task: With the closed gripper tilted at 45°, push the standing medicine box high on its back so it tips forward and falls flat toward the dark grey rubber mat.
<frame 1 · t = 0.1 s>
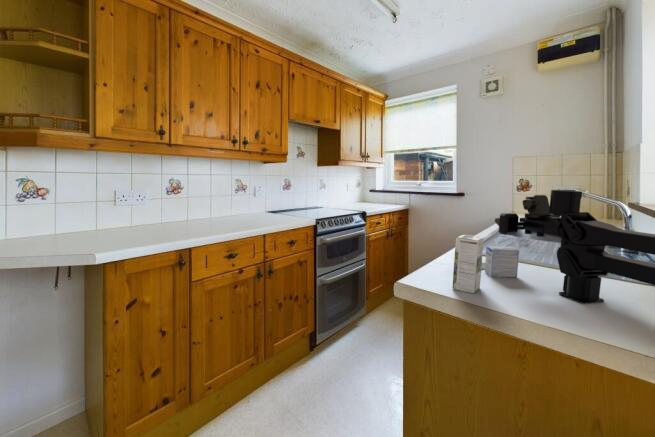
hand: (507, 219, 99), 16 cm above the countertop, tool horizontal, fingers open, 9 cm apart
medicine box: (500, 275, 95), on the countertop
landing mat: (477, 266, 103), on the countertop
syrup box: (466, 289, 83), on the countertop
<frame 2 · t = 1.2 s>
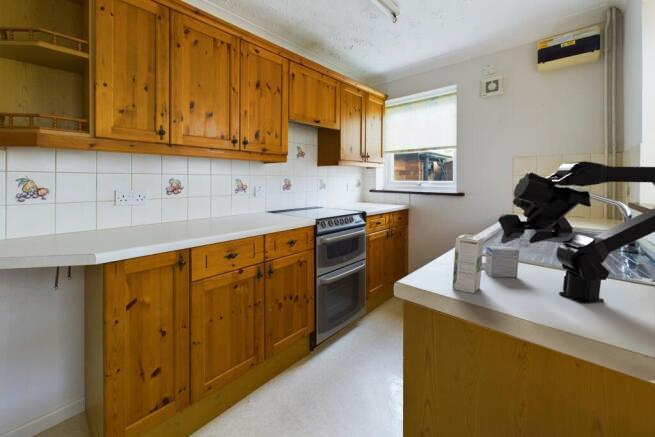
hand: (516, 242, 88), 11 cm above the countertop, tool tilted 45°, fingers open, 9 cm apart
nothing on the countertop moved.
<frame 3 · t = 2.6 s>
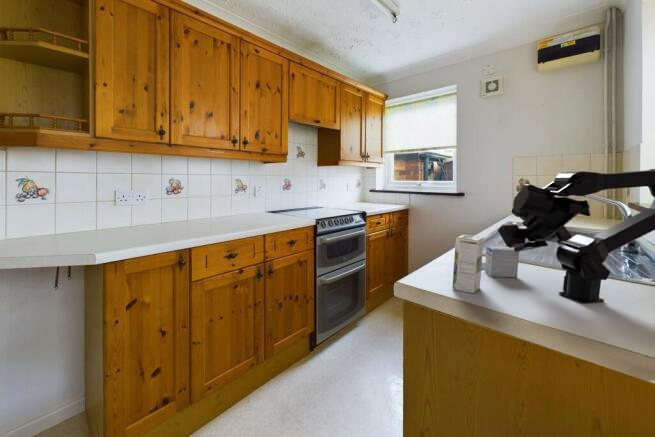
hand: (515, 250, 88), 9 cm above the countertop, tool tilted 45°, fingers closed
nothing on the countertop moved.
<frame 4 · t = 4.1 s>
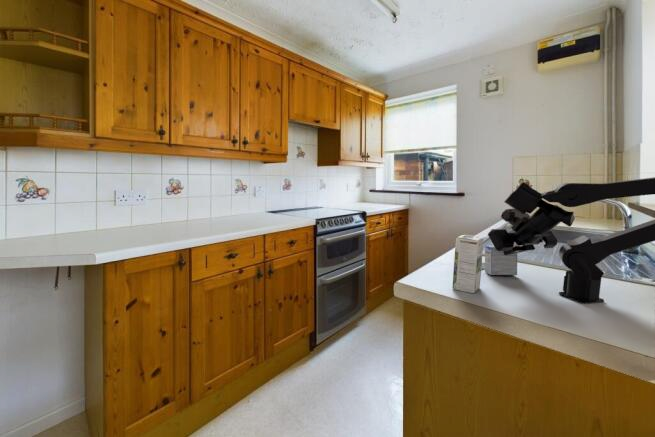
hand: (505, 253, 92), 7 cm above the countertop, tool tilted 45°, fingers closed
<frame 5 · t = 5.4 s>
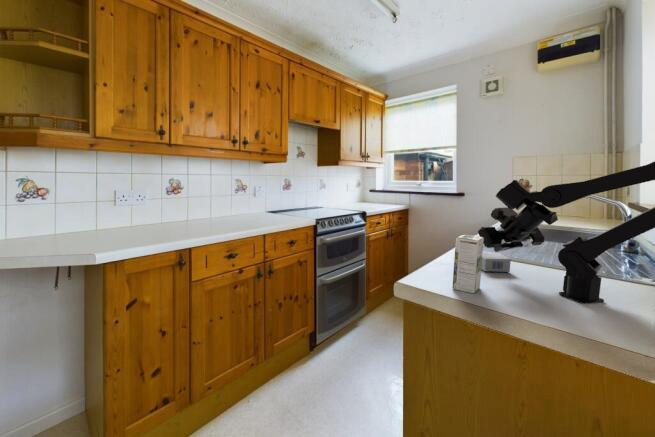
hand: (495, 250, 96), 7 cm above the countertop, tool tilted 45°, fingers closed
medicine box: (498, 265, 96), point 3 cm above the countertop, touching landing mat
everything else where it was.
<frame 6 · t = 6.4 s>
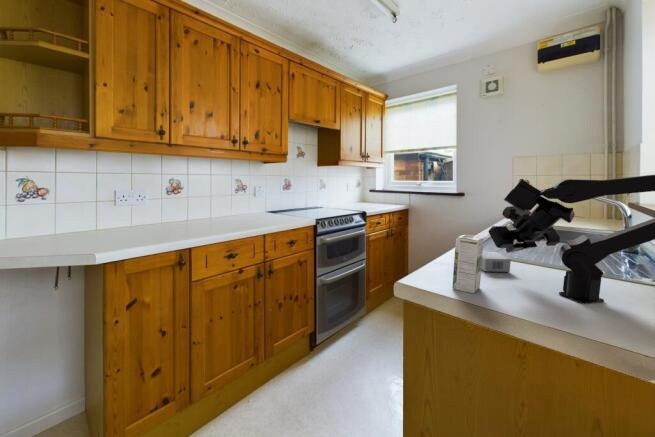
hand: (507, 251, 92), 8 cm above the countertop, tool tilted 45°, fingers closed
nothing on the countertop moved.
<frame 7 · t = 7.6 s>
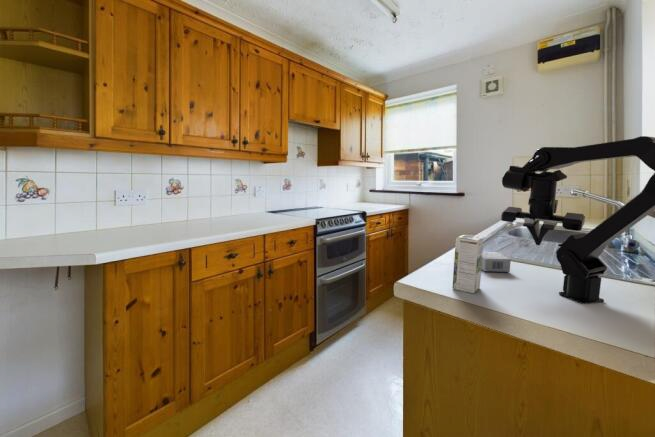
hand: (538, 244, 89), 11 cm above the countertop, tool tilted 15°, fingers closed
nothing on the countertop moved.
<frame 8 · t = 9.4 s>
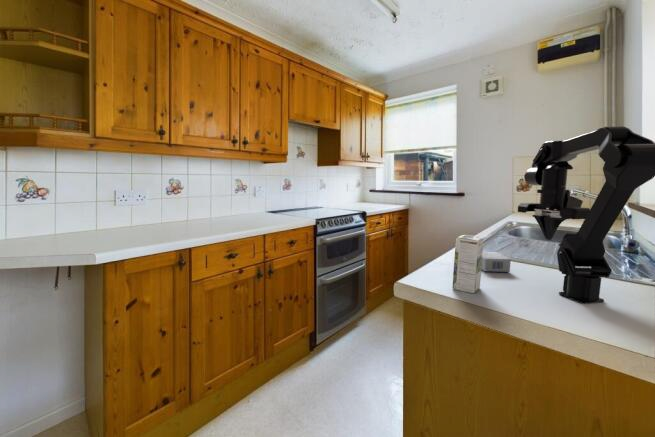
hand: (548, 239, 89), 12 cm above the countertop, tool pointing down, fingers closed
nothing on the countertop moved.
at the end: medicine box tilted 90°; medicine box inside the target area (4.2 cm from its centre), point 2.5 cm above the countertop; syrup box moved 0.2 cm from its start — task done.
